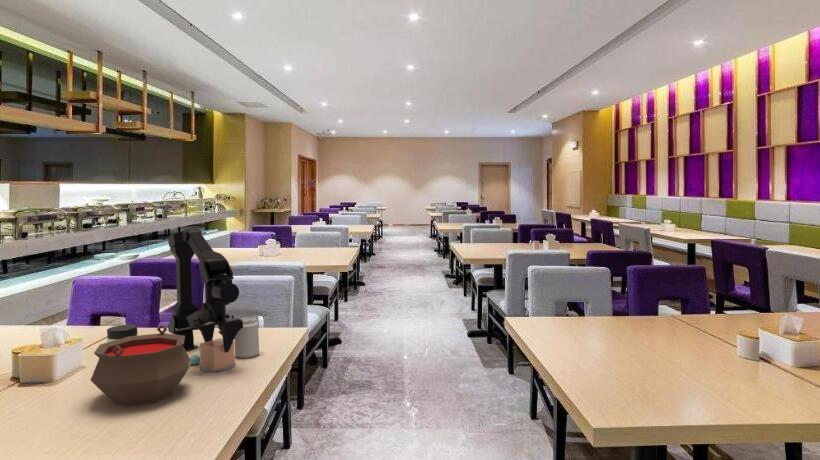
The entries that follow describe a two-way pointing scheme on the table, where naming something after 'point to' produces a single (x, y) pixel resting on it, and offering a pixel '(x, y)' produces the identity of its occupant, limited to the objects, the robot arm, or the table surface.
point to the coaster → (218, 369)
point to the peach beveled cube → (216, 355)
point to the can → (247, 339)
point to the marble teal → (194, 359)
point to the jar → (121, 332)
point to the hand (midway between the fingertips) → (217, 349)
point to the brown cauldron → (141, 367)
